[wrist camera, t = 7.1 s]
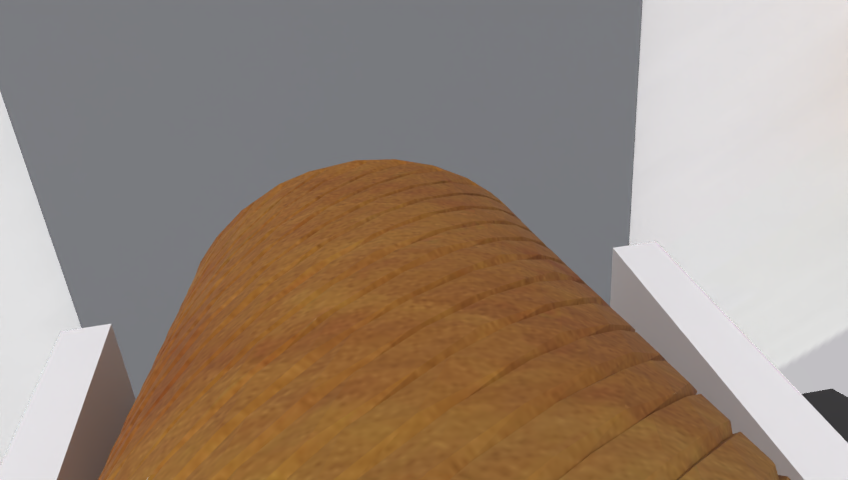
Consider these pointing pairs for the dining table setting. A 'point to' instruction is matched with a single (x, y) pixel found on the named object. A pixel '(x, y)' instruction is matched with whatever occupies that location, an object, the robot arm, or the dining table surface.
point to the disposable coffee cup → (409, 352)
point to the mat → (306, 124)
